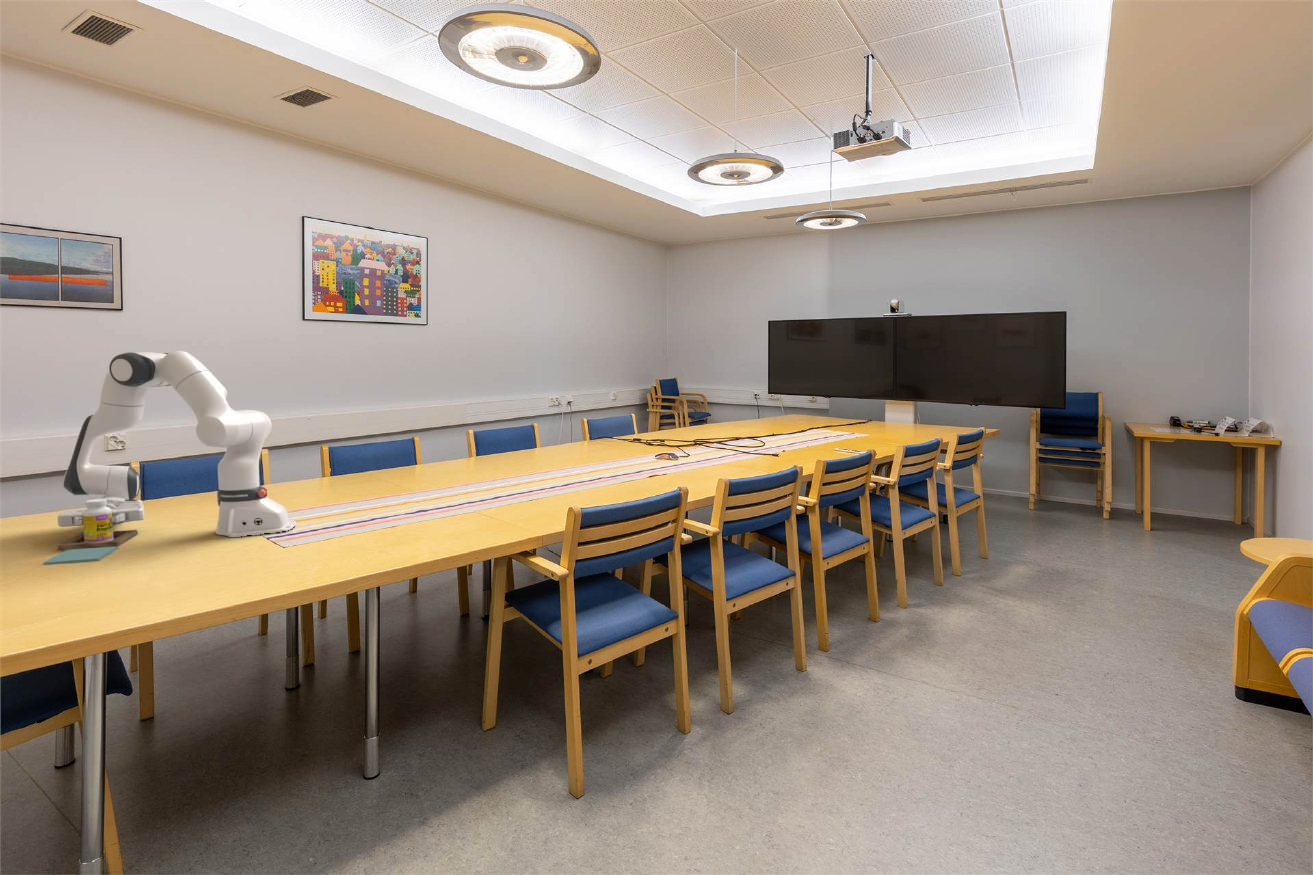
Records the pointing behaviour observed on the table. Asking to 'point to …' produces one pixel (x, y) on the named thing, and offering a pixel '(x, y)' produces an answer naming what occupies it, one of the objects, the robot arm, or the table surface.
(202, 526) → the table surface
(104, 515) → the supplement bottle
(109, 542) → the brown wooden square frame
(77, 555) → the teal mat
